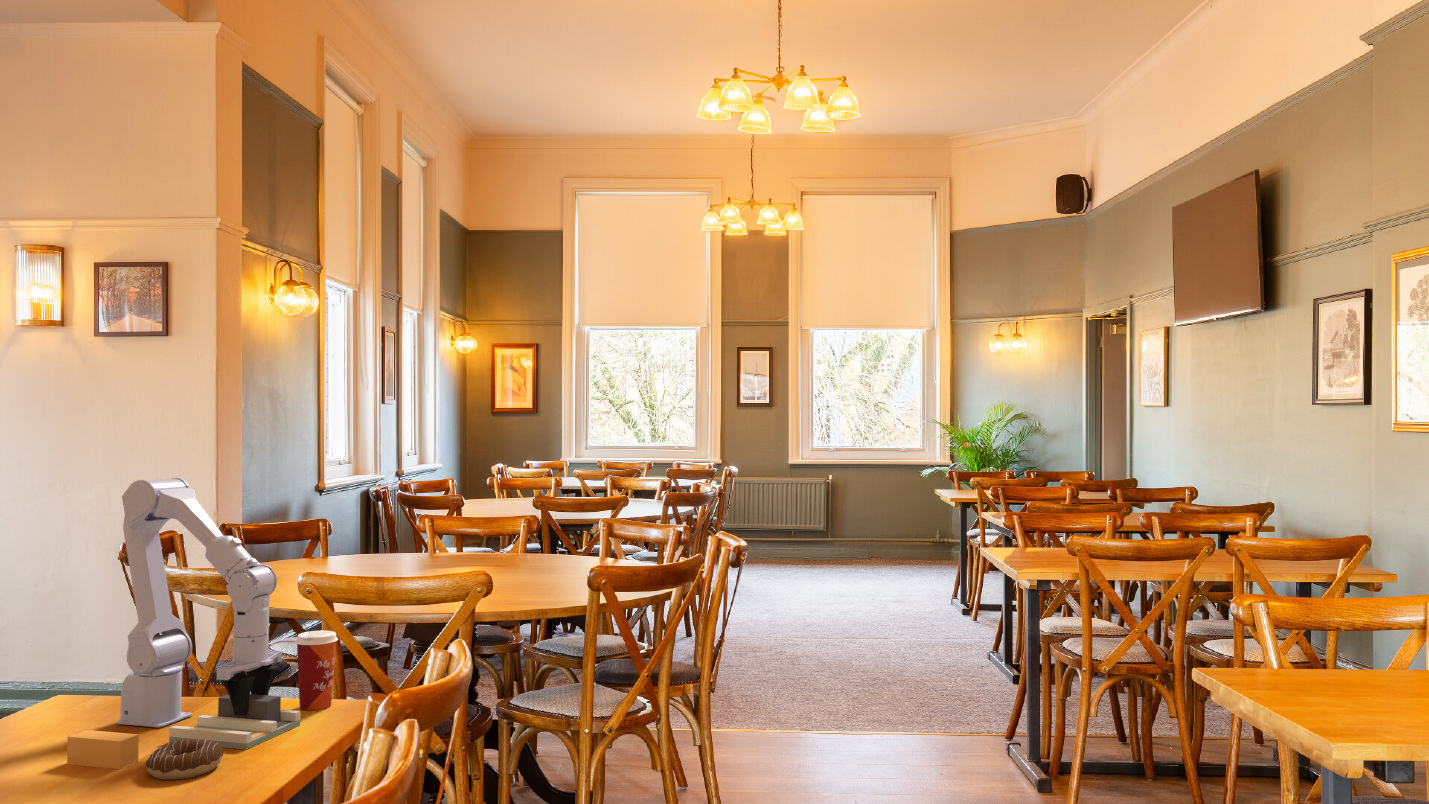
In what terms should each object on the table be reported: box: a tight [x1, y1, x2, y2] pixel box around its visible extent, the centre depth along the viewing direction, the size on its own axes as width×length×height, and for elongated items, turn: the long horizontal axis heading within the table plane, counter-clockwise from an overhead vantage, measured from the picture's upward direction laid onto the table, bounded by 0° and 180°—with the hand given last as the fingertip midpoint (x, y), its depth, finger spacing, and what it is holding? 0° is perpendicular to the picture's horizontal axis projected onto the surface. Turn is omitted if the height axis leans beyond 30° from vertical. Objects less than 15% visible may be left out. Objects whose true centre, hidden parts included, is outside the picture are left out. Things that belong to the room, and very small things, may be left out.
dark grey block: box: [217, 693, 282, 723], centre depth 174 cm, size 10×4×4 cm, turn 77°
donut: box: [145, 739, 224, 781], centre depth 153 cm, size 11×11×4 cm
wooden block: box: [66, 729, 140, 770], centre depth 156 cm, size 10×4×4 cm, turn 77°
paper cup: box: [295, 629, 339, 712], centre depth 188 cm, size 8×8×14 cm
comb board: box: [168, 709, 301, 750], centre depth 171 cm, size 15×14×2 cm
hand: (249, 711), depth 174 cm, fingers open, 4 cm apart
